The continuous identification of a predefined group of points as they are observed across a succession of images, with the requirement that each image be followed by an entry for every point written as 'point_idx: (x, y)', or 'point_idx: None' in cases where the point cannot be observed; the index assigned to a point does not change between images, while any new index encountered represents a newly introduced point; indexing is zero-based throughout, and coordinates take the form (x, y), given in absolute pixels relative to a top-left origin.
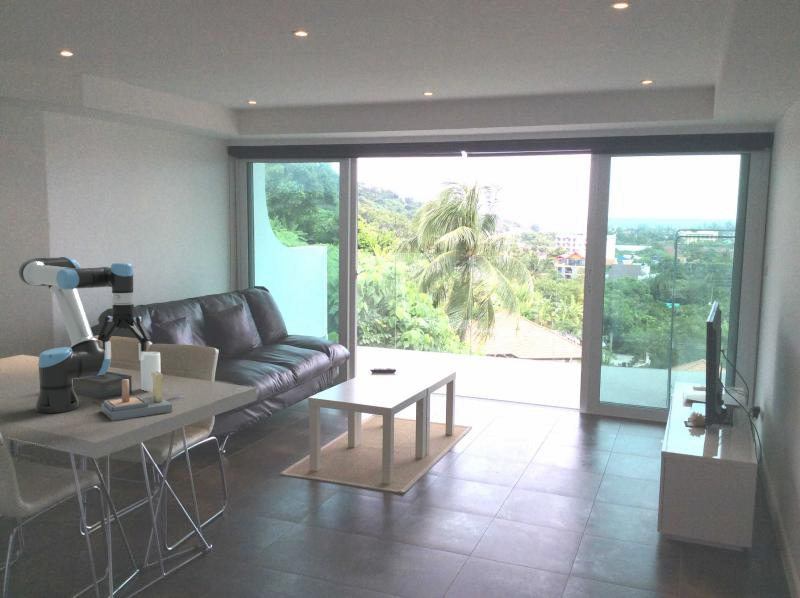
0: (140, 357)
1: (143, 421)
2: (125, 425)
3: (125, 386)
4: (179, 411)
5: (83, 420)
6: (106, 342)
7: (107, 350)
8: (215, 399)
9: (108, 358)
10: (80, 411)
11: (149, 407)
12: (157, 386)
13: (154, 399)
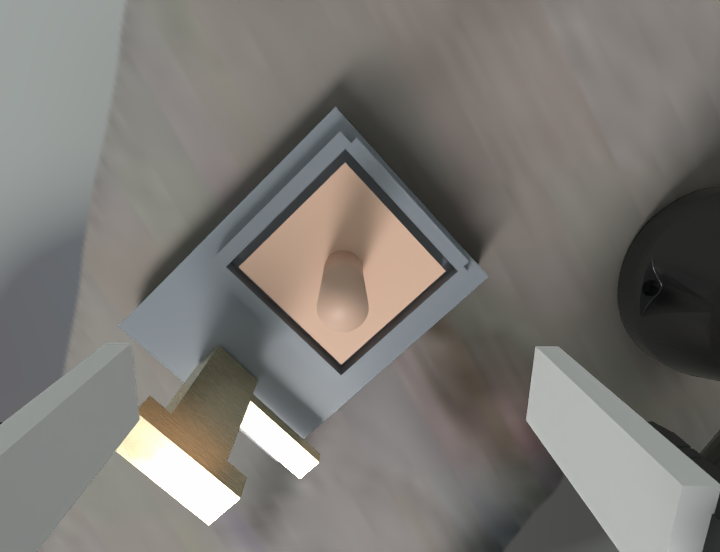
0: (89, 357)
1: (175, 124)
2: (223, 36)
3: (330, 274)
4: (106, 324)
5: (482, 95)
6: (684, 484)
7: (587, 410)
8: (63, 537)
9: (534, 372)
10: (576, 249)
11: (197, 246)
12: (183, 391)
13: (237, 366)
